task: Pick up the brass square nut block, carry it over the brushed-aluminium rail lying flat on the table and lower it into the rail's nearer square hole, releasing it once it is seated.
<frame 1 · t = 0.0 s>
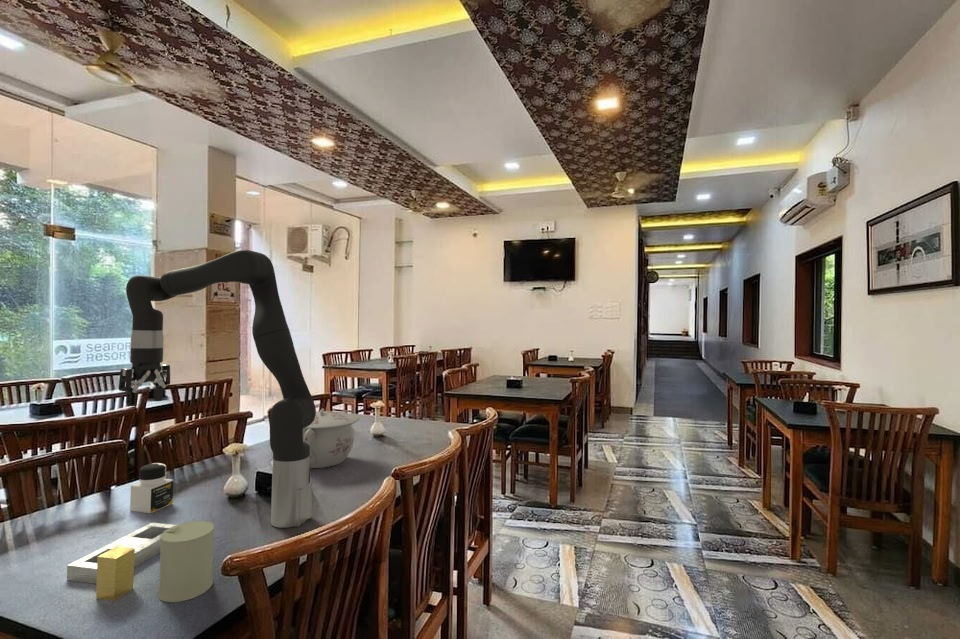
hand: (145, 403, 128), 29 cm above the table, fingers open, 8 cm apart
medicine bottle: (151, 508, 127), on the table
can: (186, 589, 90), on the table
rail: (130, 557, 101), on the table
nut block: (115, 593, 88), on the table
chamber pot: (320, 463, 170), on the table
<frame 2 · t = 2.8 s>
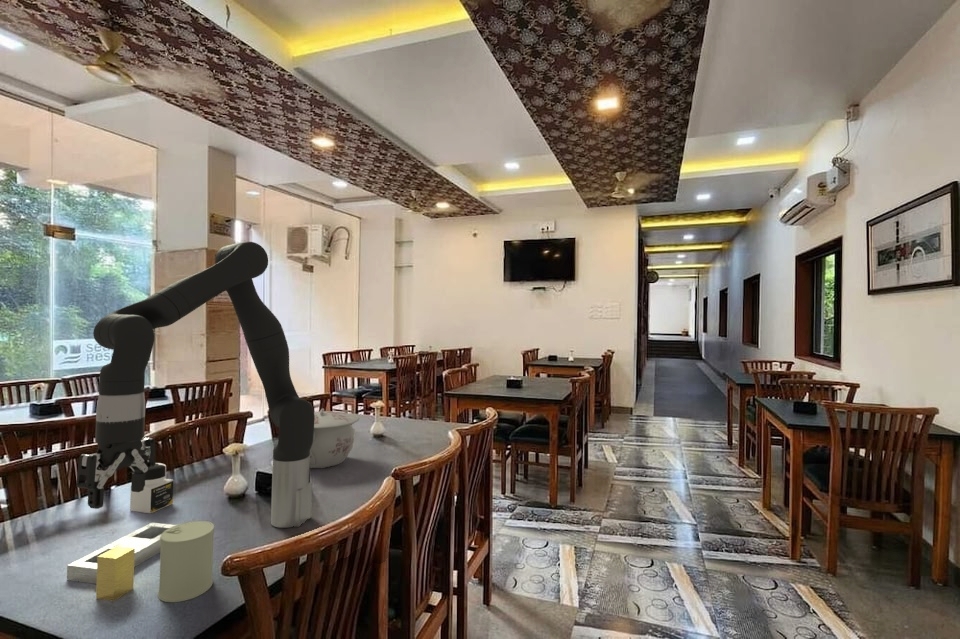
hand: (117, 499, 88), 18 cm above the table, fingers open, 8 cm apart
nothing on the table moved.
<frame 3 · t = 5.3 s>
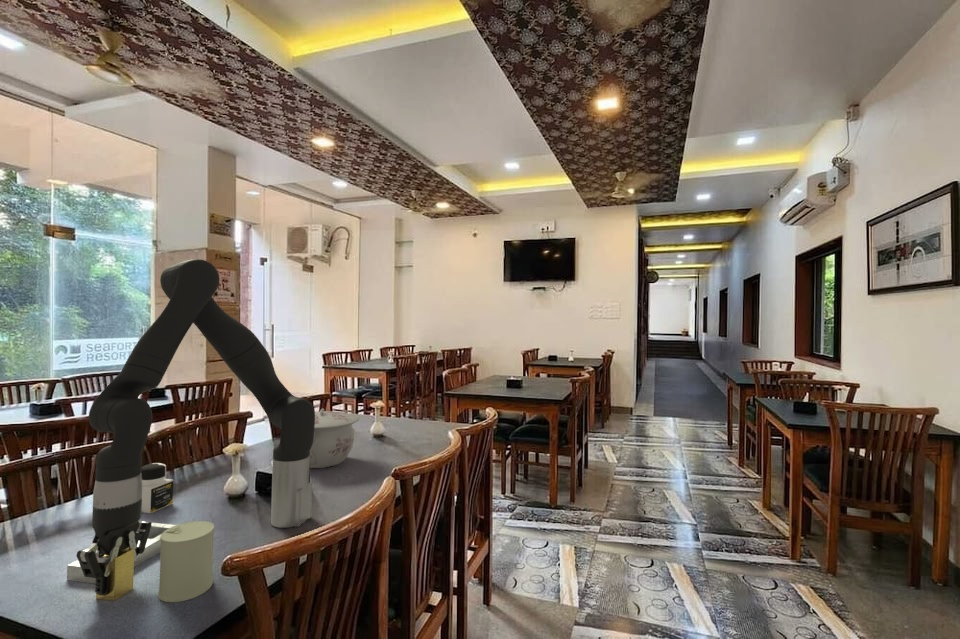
hand: (115, 586, 88), 1 cm above the table, fingers closed on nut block, 4 cm apart
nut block: (114, 593, 88), on the table, touching gripper
everything else where it was.
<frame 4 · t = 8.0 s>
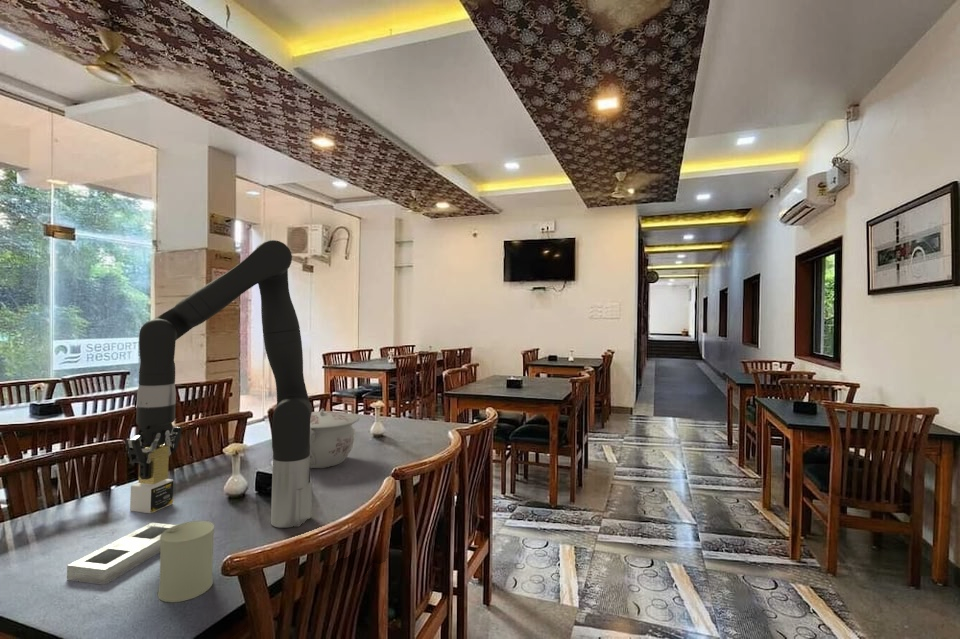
hand: (154, 475, 107), 17 cm above the table, fingers closed on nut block, 4 cm apart
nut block: (153, 480, 107), point 15 cm above the table, touching gripper
everything else where it was.
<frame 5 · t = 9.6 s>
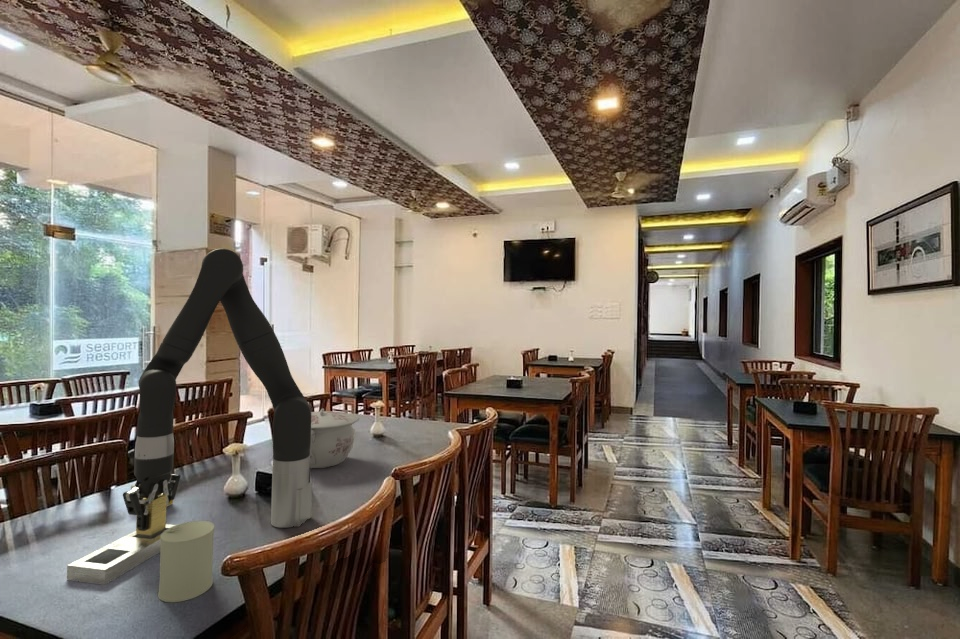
hand: (151, 525, 107), 5 cm above the table, fingers closed on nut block, 4 cm apart
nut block: (150, 530, 107), point 3 cm above the table, touching gripper
everything else where it was.
when the fingers open (3 cm above the table, at t = 10.9 s): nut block drops 2 cm, resting in rail.
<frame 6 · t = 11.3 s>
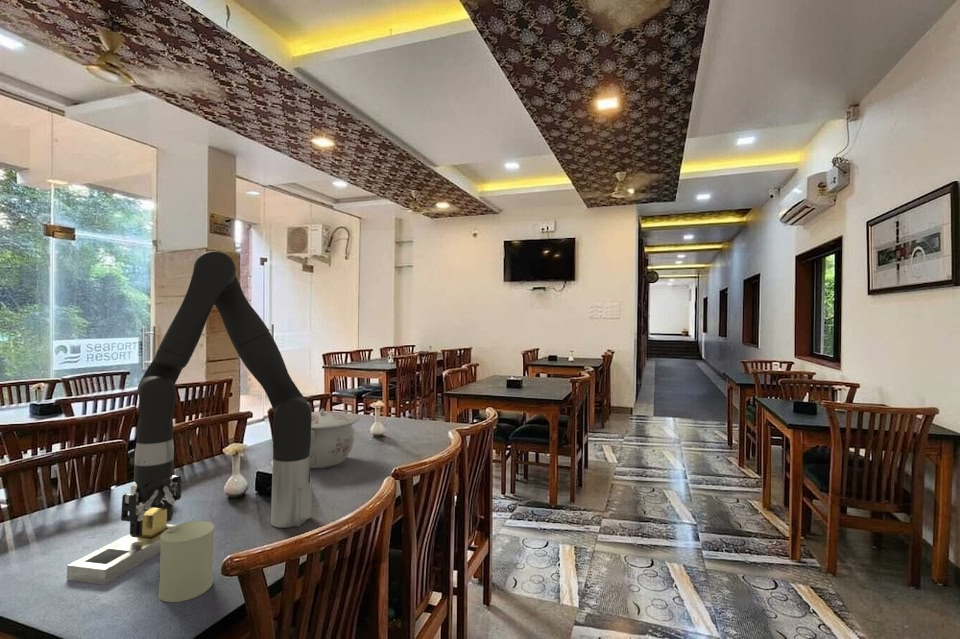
hand: (152, 528, 107), 4 cm above the table, fingers open, 8 cm apart
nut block: (151, 545, 107), resting in rail
everything else where it was.
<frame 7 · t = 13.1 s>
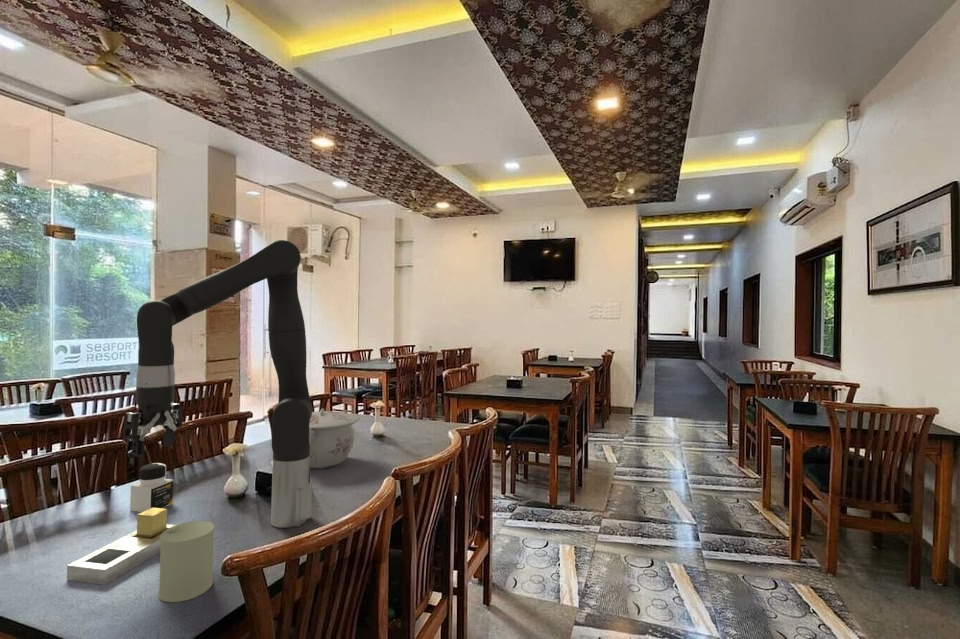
hand: (153, 451, 108), 22 cm above the table, fingers open, 8 cm apart
nothing on the table moved.
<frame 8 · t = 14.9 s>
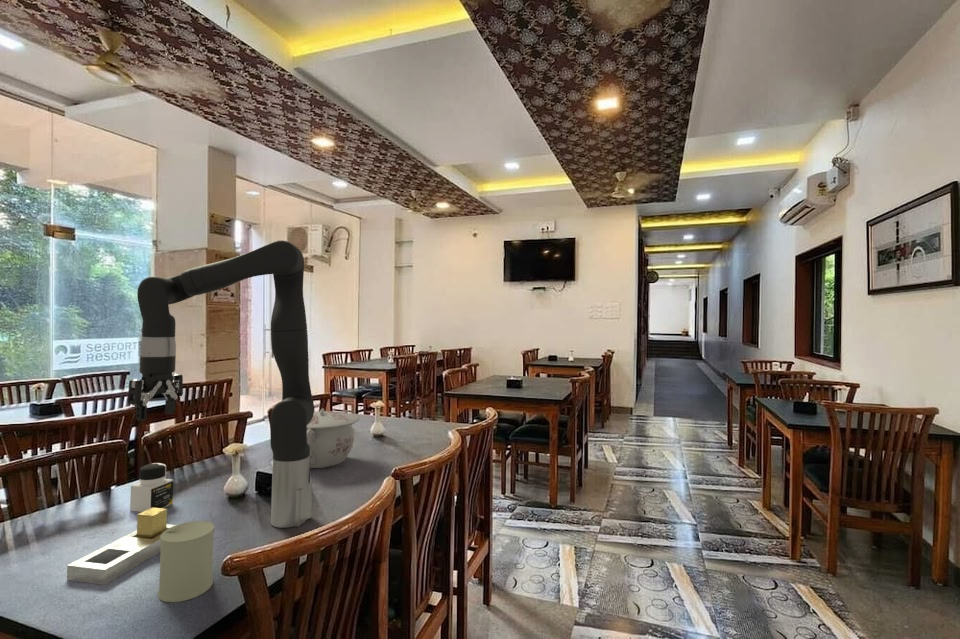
hand: (156, 417, 116), 28 cm above the table, fingers open, 8 cm apart
nothing on the table moved.
at the end: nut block 0.1 cm from the target spot on the rail, point 0.0 cm above the rail's base; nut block tilted 0°; the gripper is holding nothing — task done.
